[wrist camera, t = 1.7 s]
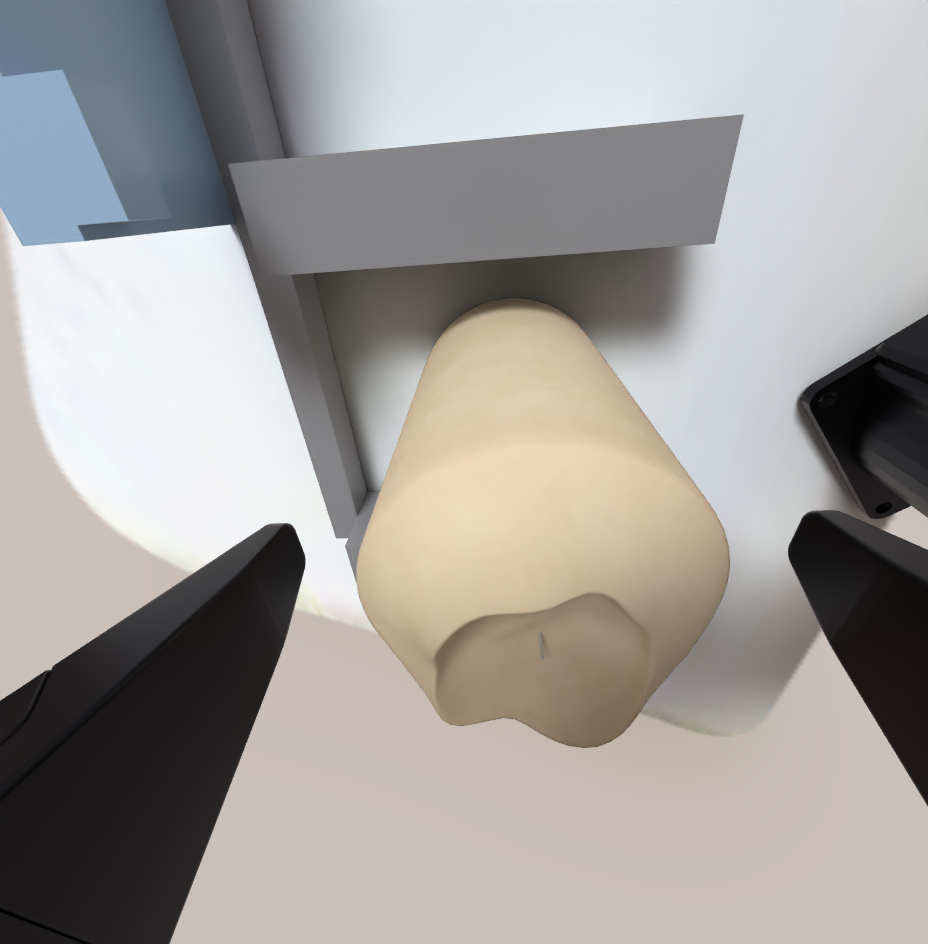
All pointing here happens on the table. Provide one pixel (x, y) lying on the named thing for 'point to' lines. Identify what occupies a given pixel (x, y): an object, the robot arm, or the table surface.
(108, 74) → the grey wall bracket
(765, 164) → the table surface
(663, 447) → the candle
